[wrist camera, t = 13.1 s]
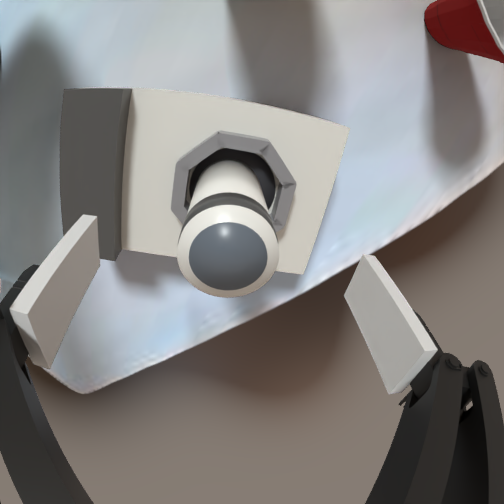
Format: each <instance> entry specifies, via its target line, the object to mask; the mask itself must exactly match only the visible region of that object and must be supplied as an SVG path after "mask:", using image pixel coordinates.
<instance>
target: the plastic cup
mask: <svg viewBox="0 0 504 504" xmlns="http://www.w3.org/2000/svg"><path fill="white" fill-rule="evenodd" d="M425 23H426V26H427V29H428V31H429V32H430V34H431V36H432V37H433V38H434V39H435V40H436V41H437V42H438V43H439V44H441V45H443V46H445V47H448V48H450V49H455V50H460V51H463V52H466V53H470V54H474V55H478V56H482V57H486V58H489V59H493V60H496V61H499V62H501V63H504V0H437V1H435V2H433V3H431V4H430V5H429V6H428V7H427V9H426V10H425Z"/></svg>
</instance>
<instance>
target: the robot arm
mask: <svg viewBox="0 0 504 504" xmlns="http://www.w3.org/2000/svg"><path fill="white" fill-rule="evenodd" d="M99 267H100V257H99V244H98V224H97V216H92V215H84V214H83V215H82V216H81V217H80V218H79V220H78V221H77V222H76V223H75V224H74V225H73V226H72V227H71V229H70V230H69V231H68V232H67V233H66V234H65V235H64V237H63V238H62V239H61V240H60V241H59V243H58V244H57V245H56V246H55V247H54V249H53V250H52V251H51V252H50V254H49V255H48V256H47V257H46V259H45V260H44V261H43V262H42V264H41V265H40V266H39V265H32V266H31V267H29V268H28V269H26V270H25V271H24V272H23V273H22V274H21V276H20V277H19V278H18V281H16V282H15V284H14V285H13V288H11V289H10V290H9V292H8V293H7V295H6V296H5V297H4V299H3V300H2V302H1V303H0V451H1V454H2V456H3V459H4V462H5V464H6V467H7V469H8V472H9V474H10V476H11V479H12V481H13V483H14V485H15V487H16V490H17V492H18V494H19V496H20V498H21V500H22V502H23V504H94V503H93V502H92V501H91V499H90V497H89V496H88V494H87V493H86V491H85V490H84V488H83V487H82V485H81V483H80V482H79V480H78V479H77V477H76V475H75V473H74V472H73V470H72V468H71V466H70V465H69V463H68V461H67V459H66V457H65V456H64V454H63V452H62V450H61V448H60V446H59V444H58V442H57V440H56V438H55V436H54V434H53V431H52V429H51V427H50V425H49V423H48V421H47V418H46V416H45V413H44V411H43V409H42V406H41V404H40V402H39V399H38V396H37V393H36V391H35V388H34V385H33V382H32V379H31V377H30V374H29V370H28V367H27V365H26V363H25V361H26V359H27V357H28V354H29V356H30V358H31V360H32V362H33V364H35V365H38V366H41V367H44V368H47V369H50V368H51V366H52V363H53V361H54V358H55V356H56V354H57V351H58V349H59V347H60V344H61V342H62V340H63V338H64V335H65V333H66V331H67V329H68V327H69V325H70V323H71V320H72V318H73V316H74V314H75V312H76V310H77V308H78V306H79V304H80V302H81V300H82V298H83V296H84V294H85V292H86V291H87V289H88V287H89V285H90V283H91V281H92V279H93V278H94V276H95V274H96V272H97V270H98V268H99ZM344 297H345V299H346V301H347V303H348V305H349V307H350V309H351V311H352V313H353V315H354V317H355V319H356V322H357V324H358V326H359V328H360V330H361V332H362V335H363V337H364V339H365V341H366V343H367V345H368V347H369V350H370V352H371V354H372V357H373V359H374V361H375V363H376V366H377V368H378V370H379V373H380V375H381V377H382V379H383V382H384V384H385V387H386V389H387V391H388V394H394V393H400V392H403V391H404V389H405V388H406V387H407V386H408V385H409V384H410V385H411V387H412V390H411V391H410V392H409V393H408V394H407V396H405V397H404V399H403V400H402V401H401V402H400V403H399V405H400V406H401V405H402V404H403V403H404V402H406V403H405V406H404V410H403V413H402V416H401V419H400V422H399V425H398V428H397V431H396V433H395V436H394V439H393V442H392V444H391V447H390V450H389V452H388V454H387V457H386V460H385V462H384V464H383V467H382V469H381V471H380V473H379V476H378V478H377V480H376V482H375V484H374V487H373V489H372V491H371V493H370V495H369V497H368V499H367V501H366V503H365V504H504V424H503V419H502V413H501V408H500V403H499V399H498V394H497V390H496V386H495V382H494V378H493V374H492V372H491V369H490V368H489V366H488V365H487V364H486V363H485V362H482V361H479V360H477V361H475V362H474V363H473V364H472V366H471V367H470V368H469V367H464V366H462V364H461V362H460V361H459V360H458V359H457V357H455V356H454V355H452V354H449V353H443V351H442V350H441V348H440V347H439V345H438V343H437V342H436V340H435V338H434V337H433V335H432V334H431V332H429V329H428V327H427V326H425V325H426V324H425V323H424V321H423V320H422V318H421V317H420V316H419V315H418V314H417V313H416V312H415V311H414V310H413V309H412V308H411V307H410V305H409V304H408V302H407V301H406V299H405V298H404V296H403V295H402V294H401V292H400V291H399V289H398V288H397V286H396V285H395V283H394V282H393V281H392V279H391V278H390V277H389V275H388V274H387V273H386V271H385V269H384V268H383V267H382V265H381V264H380V263H379V261H378V260H377V259H376V257H375V256H371V255H364V254H363V255H362V258H361V260H360V262H359V264H358V267H357V269H356V271H355V273H354V276H353V278H352V280H351V282H350V284H349V287H348V289H347V291H346V293H345V295H344ZM471 401H472V403H473V406H472V407H471V408H470V409H469V410H466V406H467V405H468V404H469V402H471ZM0 504H1V503H0Z"/></svg>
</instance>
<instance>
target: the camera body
mask: <svg viewBox="0 0 504 504" xmlns="http://www.w3.org/2000/svg"><path fill="white" fill-rule="evenodd" d="M349 130H350V128H348V127H346V126H343V125H340V124H337V123H335V122H332V121H329V120H326V119H322V118H319V117H315V116H312V115H308V114H304V113H300V112H296V111H292V110H288V109H284V108H280V107H275V106H271V105H266V104H261V103H256V102H251V101H246V100H241V99H235V98H229V97H223V96H217V95H210V94H203V93H195V92H186V91H177V90H166V89H154V88H137V87H87V88H74V89H64V94H63V104H62V116H61V132H60V195H61V212H62V224H63V234H64V235H65V234H66V233H67V232H68V231H69V230H70V229H71V227H72V226H73V225H74V224H75V223H76V222H77V221H78V220H79V218H80V217H81V216H82V215H83V214H84V215H92V216H97V224H98V244H99V257H100V259H105V260H111V261H115V260H116V258H117V257H118V255H119V253H120V251H121V249H124V250H130V251H137V252H144V253H150V254H157V255H164V256H171V257H177V248H178V240H179V236H180V233H181V229H182V226H183V223H184V220H185V218H186V216H187V213H188V209H189V206H190V203H191V200H192V197H193V194H194V191H195V188H196V185H197V181H198V179H199V176H200V175H201V173H202V172H203V170H204V169H205V168H206V167H207V166H209V165H210V164H212V163H214V162H216V161H219V160H223V159H234V160H238V161H241V162H243V163H245V164H247V165H248V166H249V167H251V168H252V169H253V171H254V172H255V173H256V175H257V177H258V179H259V183H260V186H261V189H262V192H263V195H264V199H265V202H266V205H267V209H268V212H269V215H270V217H271V219H272V222H273V225H274V228H275V232H276V235H277V239H278V245H279V261H278V265H277V268H276V270H275V271H280V272H287V273H295V274H304V271H305V268H306V265H307V263H308V260H309V257H310V254H311V251H312V248H313V245H314V243H315V240H316V237H317V234H318V231H319V228H320V225H321V222H322V219H323V216H324V213H325V210H326V207H327V203H328V200H329V197H330V194H331V191H332V188H333V184H334V181H335V178H336V175H337V171H338V168H339V165H340V161H341V158H342V155H343V151H344V148H345V144H346V141H347V137H348V134H349Z"/></svg>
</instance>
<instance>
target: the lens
mask: <svg viewBox="0 0 504 504" xmlns="http://www.w3.org/2000/svg"><path fill="white" fill-rule="evenodd" d="M177 260H178V264H179V268H180V270H181V272H182V274H183V275H184V277H185V278H186V279H187V280H188V282H189V283H191V284H192V285H193V286H194V287H196V288H197V289H198V290H200V291H202V292H204V293H207V294H209V295H213V296H217V297H226V298H228V297H239V296H243V295H247V294H249V293H252V292H254V291H256V290H258V289H259V288H261V287H262V286H263V285H264V284H266V283H267V282H268V281H269V280H270V278H271V277H272V276H273V274H274V272H275V270H276V268H277V265H278V261H279V245H278V239H277V235H276V232H275V228H274V225H273V222H272V219H271V217H270V215H269V212H268V209H267V205H266V202H265V199H264V195H263V192H262V189H261V186H260V183H259V179H258V177H257V175H256V173H255V172H254V171H253V169H252V168H251V167H249V166H248V165H247V164H245V163H243V162H241V161H238V160H234V159H223V160H219V161H216V162H214V163H212V164H210V165H209V166H207V167H206V168H205V169H204V170H203V172H202V173H201V175H200V176H199V179H198V181H197V185H196V188H195V191H194V194H193V197H192V200H191V203H190V206H189V209H188V213H187V216H186V218H185V220H184V223H183V226H182V229H181V233H180V236H179V240H178V248H177Z"/></svg>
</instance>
